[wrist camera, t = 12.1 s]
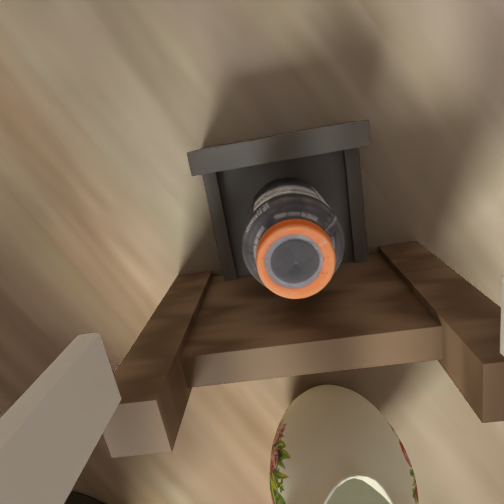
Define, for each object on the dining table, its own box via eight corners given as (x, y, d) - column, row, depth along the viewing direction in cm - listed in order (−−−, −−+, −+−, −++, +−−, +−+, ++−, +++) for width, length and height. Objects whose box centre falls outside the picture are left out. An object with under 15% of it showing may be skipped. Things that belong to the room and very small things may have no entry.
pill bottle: (301, 263, 30) (317, 336, 20) (236, 230, 30) (216, 288, 19) (339, 198, 29) (379, 240, 18) (270, 162, 28) (269, 183, 17)
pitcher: (276, 492, 39) (278, 671, 26) (264, 342, 34) (259, 476, 21) (383, 490, 39) (439, 675, 26) (388, 337, 33) (463, 473, 20)
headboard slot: (185, 307, 33) (111, 457, 18) (148, 158, 29) (13, 190, 14) (418, 275, 31) (556, 415, 16) (411, 110, 27) (585, 89, 12)
